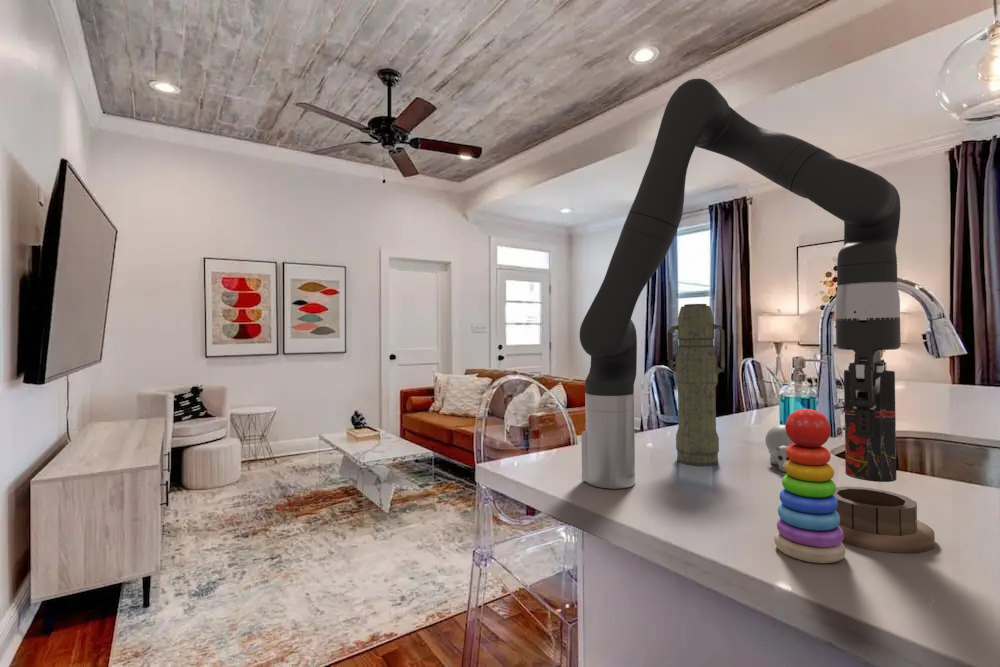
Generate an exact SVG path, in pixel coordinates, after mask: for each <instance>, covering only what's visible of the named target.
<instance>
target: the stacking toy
mask: <svg viewBox="0 0 1000 667" xmlns="http://www.w3.org/2000/svg"><path fill="white" fill-rule="evenodd" d="M786 418H787V419H786V420H785V424H784V425H785V429H786V433H787V435H788V437H789V438H790V439H791V441H792V442H794V443H795V444H791V445H789V446H788V447H787V449H786V455H787V457H788V458H789V459H790V460H789V461H787V462H786V464H785V471H786V472H785V473H786V474H785V475H784V476H783V477H782V479H781V484H782V487H783V488H782V489H781V491H780V493H779V500H780V502H781V503H780V504H779V505H778V508H777V514H778V516H779V518H778V520H777V522H776V529H777V531H778V532H776V533H775V535H774V544H775V546H776V548H777V549H779V551H780V552H782V553H783V554H785V555H787V556H788V557H791V558H793V559H797V560H799V561H804V562H809V563H815V564H831V563H836V562H839V561H841V560H843V559H844V557H845V556H846V552H847V551H846V547H845V544H844V542H842V541H843V538H844V533H843V530H842V529H841V528H840V527H839V526H838V525H839V523H840V516H839V514H838V513H837V512H836V511H835V510H836V509H837V507H838V501H837V499H836V497H835V496H834V495H833V494H834V493H835V491H836V487H837V486H836V484H835V482H834V480H832V479H833V478H834V476H835V470H834V468H833V466H832V465H831V464H829V462H830V460H831V452H830V450H828V449H827V447H824V446H823V445H824V444H826V443H827V441H828V440H829V438H830V436H831V432H832V431H831V424H830V422H829V419H828V418H827V417H826V416H825V415H824V414H823V413H821V412H820V411H818V410H815V409H811V408H801V409H797V410H795V411H793V412H792V413H790V414H789V416H788V417H786Z"/></svg>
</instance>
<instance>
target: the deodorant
mask: <svg viewBox="0 0 1000 667" xmlns="http://www.w3.org/2000/svg"><path fill="white" fill-rule="evenodd" d="M879 377H880V390H881V393H880V395H877V396H876V405H877V408H876V409H875V437H874V438H861V437H857V436H856V434H855V410H854V409H853V407H851V404H850V400H851V398H850V375H849V369H844V370H843V379H844V380H843V389H844V390H843V391H844V398H843V399H844V402H843V403H844V452H845V453H844V454H845V457H844V460H845V462H844V463H845V464H844V465H845V470H844V471H845V475H846V476H848V477H851V478H854V479H857V480H860V481H861V480H863V481H868V482H877V483H891V482H895V481H897V435H896V434H897V431H896V428H897V425H896V424H897V423H896V420H897V419H896V418H897V417H896V371H894V370H887V371H884V372H875V375H874V378H873V387H874V386H875V382H876V379H878V378H879ZM863 381H864V380H863ZM859 398H866V399H868V394H859Z"/></svg>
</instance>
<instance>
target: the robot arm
mask: <svg viewBox="0 0 1000 667" xmlns="http://www.w3.org/2000/svg"><path fill="white" fill-rule="evenodd" d="M654 142H655V143H654V146H653V150H652V153H651V155H650V158H649V161H648V164H647V166H646V169H645V171H644V174H643V176H642V179H641V182H640V185H639V187H638V190H637V191H636V192H637V193H636V195H635V197H634V200H633V203H632V205H631V207H630V209H629V212H628V213H627V217H626V219H625V222H624V224H623V226H622V229H621V232H620V235H619V238H618V241H617V243H616V244H615V245H616V246H615V249H614V250H613V253H612V256H611V258H610V260H609V261H610V262H609V264H608V267H607V270H606V273H605V276H604V279H603V280H602V283H601V284H600V286H599V289H598V291H597V293H596V295H595V297H594V299H593V301H592V302H591V304H590V307H589V308H588V310H587V312H586V314H585V315H584V318H583V320H582V322H581V325H580V329H579V342H580V345H581V347H582V349H583V350H584V352H585V353H586V354H587V355H589V356H590V367H589V372H588V374H587V376H586V378H585V381H584V392H585V393H584V395H585V399H584V400H585V401H584V402H585V407H584V408H585V430H583V431H581V440H580V442H581V481H582V482H586V483H587V484H588V485H591V486H593V487H597V488H603V489H613V490H615V489H617V490H618V489H628V488H630V487H633V486H634V485H635V484H636V467H635V466H636V459H635V458H636V457H635V456H636V455H635V454H636V450H635V446H636V444H635V440H636V439H635V436H636V435H635V393H634V392H635V381H636V377H637V369H638V368H637V366H638V365H637V363H638V362H637V361H638V360H637V357H638V352H637V350H638V343H637V342H638V337H637V329H636V325H635V323H634V321H633V320H632V316H633V314H634V311H635V309H636V308H635V307H636V305H637V302H638V300H639V297H640V295H641V293H642V291H643V289H644V288H645V286H646V285H647V284H648V282H649V281H650V279H651V278H652V277H653V276H654V274H655V273H656V271H657V270H658V268H659V267H660V265H661V264H662V263H663V261H664V259H665V258H666V256H667V253H668V251H669V250H670V248H671V245H672V243H673V241H674V238H675V235H676V233H677V231H678V229H679V226H680V224H681V221H682V216H683V211H684V203H685V193H686V192H685V191H686V190H685V188H686V178H687V172H688V167H689V165H690V164H689V163H690V161H691V158H692V156H693V153H694V151H695V149H696V148H700V149H702V150H707V151H709V152H713V153H716V154H719V155H721V156H723V157H727V158H729V159H732V160H733V161H736V162H738V163H739V164H742V165H744V166H746V167H747V168H749V169H751V170H753V171H754V172H756V173H758V174H759V175H761V176H763V177H764V178H766V179H768V180H770V181H771V182H773V183H775V184H777V185H778V186H780V187H782V188H784V189H786V190H787V191H789V192H790V193H793V195H794V194H795V195H796V196H798V197H801V198H803V199H807V200H809V201H811V202H812V203H814V204H815V205H817V206H818V207H820V208H821V209H823V210H824V211H826V212H828V213H829V214H831V215H833V217H835V218H838V219H839V220H841V221H843V225H844V226H843V228H844V229H843V231H844V232H843V246H842V247H841V248H840V250H839V252H838V254H837V260H836V263H837V264H836V283H837V284H836V285H837V287H836V288H837V289H836V297H835V341H836V342H835V344H836V345H835V346H836V348H837V349H839V350H843V351H844V350H845V351H846V350H847V351H849V350H850V351H853V352H854V356H853V357H854V359H853V362H849V364H848V368H847V370H849V375H850V398H851V400H850V404H851V407H853V409H854V410H855V434H856V436H857V437H861V438H874V437H875V409H876V408H877V405H876V396H877V395H880V393H881V390H880V377H879V378H878V379H876V382H875V386H874V387H873V378H874V375H875V372H884V371H888V370H887V366H888V365H887V362H885V359H882V358H881V351H895V350H899V349H900V348H901V345H902V344H901V343H902V342H901V341H902V340H901V298H900V292H899V288H898V285H899V284H898V260H897V258H898V257H897V243H898V236H899V230H900V223H901V222H900V220H901V197H900V194H899V191H898V189H897V188H896V187H895V185H894V184H892V182H890V181H888V180H887V179H886V178H885V177H883V176H881V175H880V174H878V173H876V172H874V171H872V170H869V169H867V168H865V167H862V166H860V165H857V164H855V163H852V162H850V161H846V160H844V159H842V158H841V159H840V158H837V156H835V155H833V154H832V153H830V151H829V152H828V151H827V150H824V149H822V147H821V148H820V147H819V146H816V145H814V144H812V143H810V142H808V141H806V140H804V139H802V138H799V137H796V136H793V135H791V134H788V133H784V132H779V131H774V130H769V129H766V128H763V127H761V126H759V125H757V124H754V123H753V122H750V121H749V120H747V119H746V118H745V117H743V116H742V115H741V114H740V113H738V112H737V111H736V110H735V109H733V108H732V107H731V106H730V105H729V102H728V100H726V98H725V97H724V96H723V95H722V94H721V92H720V91H719V90H718V89H717V88H716V87H715V85H713V84H712V83H711V82H710V81H709V80H707V79H705V78H700V77H696V78H691V79H688V80H686V81H685V82H683V83H682V84H680V85H679V86H678V87H677V89H675V91H674V92H673V93H672V95H671V96H670V98H669V100H668V102H667V103H666V105H665V109H664V112H663V115H662V118H661V121H660V126H659V129H658V133H657V135H656V139H655V141H654ZM863 380H864V381H863ZM859 394H868V399H866V398H859Z"/></svg>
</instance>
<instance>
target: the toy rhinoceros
mask: <svg viewBox="0 0 1000 667" xmlns="http://www.w3.org/2000/svg"><path fill="white" fill-rule="evenodd" d="M791 444H795V443H794V442H792V441H791V439H790V438H789V437H788V435H787V433H786V429H785V424H777V425H774V426H772V427H771V428H770V429H769V430H768V431H767V433H766V435H765V445H766V448H767V450H768V453H769V454H770V456H769V461H770V463H771V464H773V465H774V466H778V468H779V469H780V470H781V472H783V473H786V471H785V464H786V462H787V461H789V460H790V459H789V458H788V457H787V455H786V449H787V447H788V446H789V445H791Z"/></svg>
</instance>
